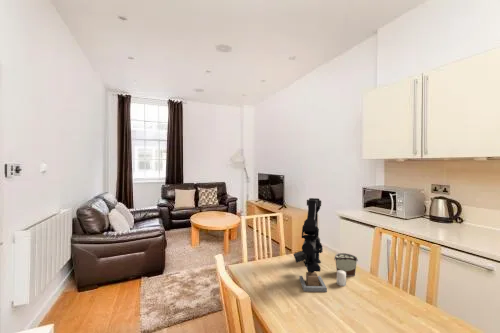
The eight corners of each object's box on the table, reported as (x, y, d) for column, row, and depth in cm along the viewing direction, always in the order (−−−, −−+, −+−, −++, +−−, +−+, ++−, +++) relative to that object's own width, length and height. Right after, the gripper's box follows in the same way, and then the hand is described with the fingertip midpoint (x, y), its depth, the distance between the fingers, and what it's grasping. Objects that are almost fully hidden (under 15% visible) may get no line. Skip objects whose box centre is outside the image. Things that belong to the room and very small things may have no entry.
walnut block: (306, 281, 118) (306, 272, 118) (315, 281, 118) (315, 272, 118) (308, 286, 113) (308, 276, 113) (318, 287, 113) (318, 277, 113)
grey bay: (299, 279, 120) (299, 275, 120) (320, 279, 120) (320, 276, 120) (303, 291, 109) (303, 287, 109) (326, 291, 109) (326, 288, 109)
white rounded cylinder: (335, 281, 118) (335, 270, 118) (344, 281, 118) (344, 270, 118) (338, 286, 114) (338, 274, 113) (347, 286, 113) (347, 274, 113)
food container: (353, 270, 130) (353, 253, 130) (357, 275, 124) (357, 257, 124) (331, 269, 131) (331, 252, 131) (334, 274, 125) (334, 256, 125)
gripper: (292, 241, 129) (292, 268, 129) (297, 254, 110) (297, 286, 111) (311, 241, 129) (311, 268, 129) (320, 254, 110) (320, 286, 110)
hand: (310, 276), depth 120 cm, fingers closed
